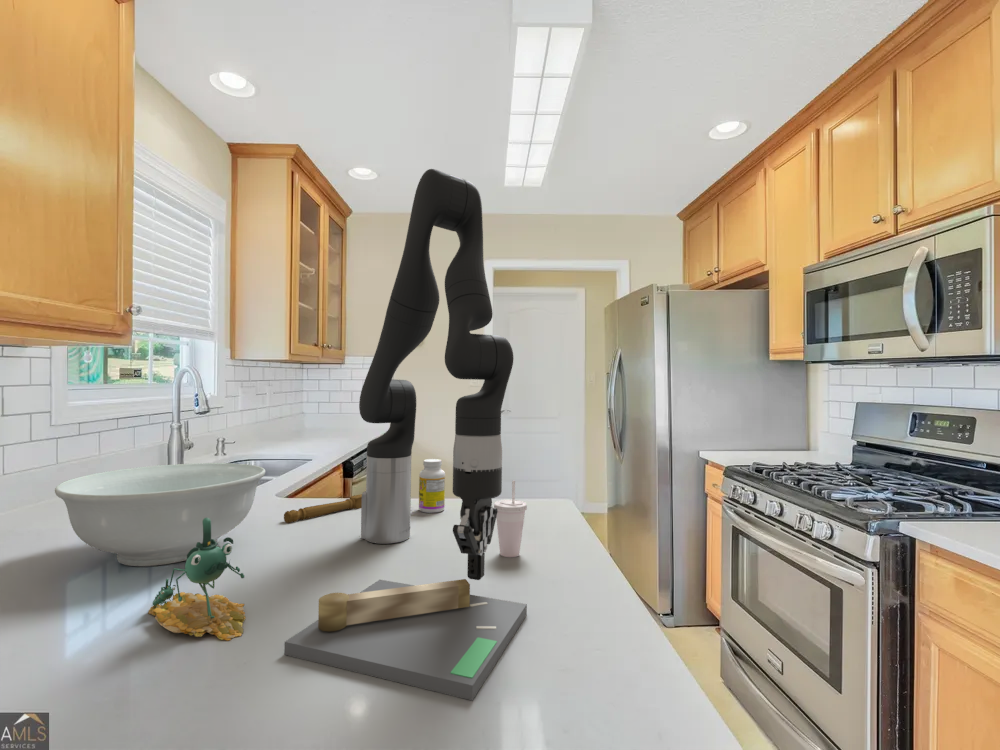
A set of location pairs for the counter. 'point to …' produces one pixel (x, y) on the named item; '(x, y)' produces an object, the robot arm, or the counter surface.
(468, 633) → the dial plate
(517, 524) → the smoothie
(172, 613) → the green cartoon bug figurine
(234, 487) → the bowl
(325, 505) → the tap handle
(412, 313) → the robot arm
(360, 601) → the dial lever
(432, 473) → the supplement bottle
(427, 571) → the counter surface
